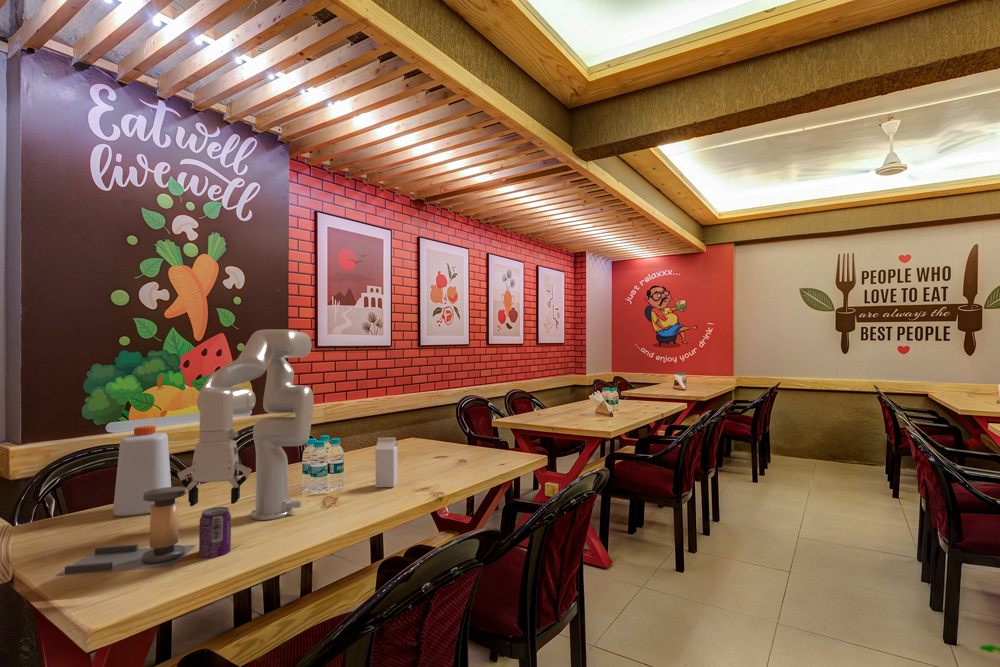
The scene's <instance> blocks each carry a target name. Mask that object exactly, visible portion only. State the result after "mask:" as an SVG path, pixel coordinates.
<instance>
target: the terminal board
mask: <svg viewBox="0 0 1000 667" xmlns="http://www.w3.org/2000/svg"><path fill="white" fill-rule="evenodd" d="M183 546H184V547H185V554H184V555H183V556H181V557H179V558H177V559H175V560H172V561H168V562H164V563H158V564H146V563H143V562H142V555H143V554H144V553H145V552H147V551H149V550H152V549H154V548H151V547H145V548H139V543H135V544H134V543H133V544H121V545H106V546H105V545H104V546H97V547H95V548H94V551H92V552H90V553H89V554H87V555H86V556H84V557H83V558H81V559H79V560H78V561H77V562H75V563H73V564H70V565H66V566H65V567H64V570H62V571H60V572H59V573H57V574H55V575H54V577H57V576H59V577H60V576H70V575H81V574H82V575H84V574H85V575H86V574H94V573H95V574H96V573H109V572H120V571H133V570H134V571H135V570H146V569H157V568H172V567H174V566H175V565H176V564H177V563H178V562H180V561H181V560H182V559H183V558H184V557H185V556H186V555H187V554H188V553H190V552H191V550H193V549H194V548H195V547H197V544H185V545H183Z"/></svg>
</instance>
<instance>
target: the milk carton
mask: <svg viewBox="0 0 1000 667" xmlns="http://www.w3.org/2000/svg"><path fill="white" fill-rule="evenodd" d="M396 439H397V437H395V436H394V437H391V436H390V437H387V436H386V437H377V441H376V446H375V488H376V487H394V486H395V487H396V485H397V484H398V483H399V482H398V481H399V480H398V478H399V476H398V475H399V473H398V472H399V469H398V463H399V461H398V460H399V459H398V458H399V457H398V455H399V452H398V451H399V450H398V444H397V443H398V442H397V440H396ZM395 487H394V488H395Z"/></svg>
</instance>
